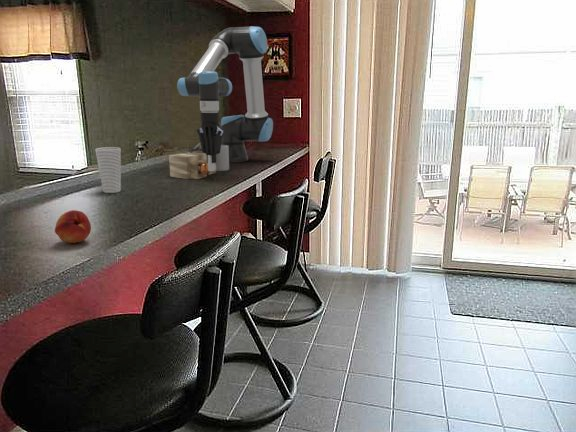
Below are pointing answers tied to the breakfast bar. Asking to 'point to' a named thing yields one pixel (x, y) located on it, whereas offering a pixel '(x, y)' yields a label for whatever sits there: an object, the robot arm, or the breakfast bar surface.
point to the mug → (222, 159)
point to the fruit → (73, 227)
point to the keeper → (197, 147)
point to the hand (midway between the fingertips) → (211, 170)
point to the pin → (203, 168)
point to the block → (188, 164)
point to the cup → (109, 168)
